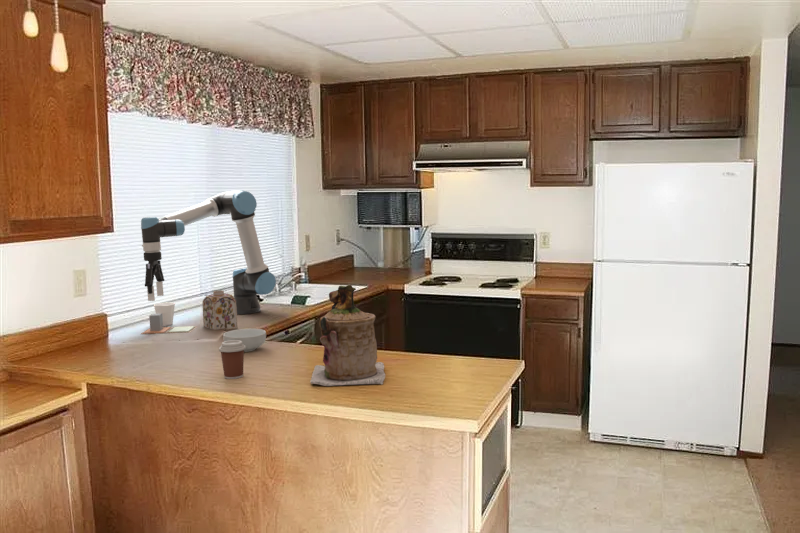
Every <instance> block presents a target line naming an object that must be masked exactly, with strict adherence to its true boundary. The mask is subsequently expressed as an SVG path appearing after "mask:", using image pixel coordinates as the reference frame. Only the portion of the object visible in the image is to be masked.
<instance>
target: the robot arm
mask: <svg viewBox="0 0 800 533" xmlns="http://www.w3.org/2000/svg"><path fill="white" fill-rule="evenodd" d="M257 207H258V205H257V199H256V197H255V196H254V195H253V194H252V193H251V192H249V191H247V190H246V191H245V190H227V191H223V192H221V193H218V194H216V195H214V196H211V197H209V198H207V199H206V200H205V201H203V202H201V203H198V204H195V205H192V206H190V207H187V208H184V209H181V210H179V211H176V212H173V213H170V214H167V215H165V216H162V217H158V216H147V217H142V218H141V219H140V220H141V221H140V229H141V237H142V238H141V239H142V245H141V247H142V248H143V249H142V250H143V251H142V252H143V261H145V262H148V263H146V264H145V279H144V287H146V293H147V301H148V302H155V300H156V299H155V296H157V297H162V296H164V284H163V282H165V278H164V272H163V270H162V265H161V264H162V263H161V261H162V252H161V251H162V246H161V238H169V237H179V236H180V237H181V236H182V235H183V236H184V234H185V231H186V230H185V228H186V226H188V225H191V224H193V223H197V222H199V221H201V220H204V219H207V218H209V217H213V218H214V217H217V216H222V215H229V216H230V217H231V220H232V221H233V222H234V223H235V225H236V228H237V229H236V230H237V233H238V237H239V240H240V244H241V247H242V251H243V255H244V260H245V262H246V263H245V264H246V266H247V268H239V269H234V270H233V271H232V282H233V283H232V285H233V286H232V287H233V297H234V299H235V300H236V309H237V315H247V314H248V315H249V314H255V313H260V312H261V305H260V302H259V300H258V297H257V295H259V296H263V295H269V294H271V293H272V292H273V291H274V289H275V287H276V284H277V281H276V280H277V279H276V276H275V275H274V274H273V273H272V272H271V271H270V269H269V266H268V265H267V264H266V263H265V262H264V258H263V254H262V249H261V246H260V242H259V237H258V234H257V229H256V225H255V222H254V218H255V216H256V213H255V212H256V208H257ZM155 279H156V282H155ZM154 282H155V284H156V295H155V286H154Z"/></svg>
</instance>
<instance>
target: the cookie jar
mask: <svg viewBox="0 0 800 533" xmlns="http://www.w3.org/2000/svg"><path fill="white" fill-rule="evenodd" d="M337 287H338V288H337V290H336V289H335V290H333V291H330V292H329V293H328V298H329V302H331V303H333V304H332V306H331V310H330V311H328V312H327V313H326V314H325V315H323V316H321V317H320V318H319V323H318V324H319V328H320V338H319V341H320V343H321V345H322V346H323V348H324V349H323V358H322V363H323V364H324V365H321V364H317V365H314V369H313V371H312V372H311V373H312V374H311V377H310V378H311V379H310V380H309V382H310V384H311V385H312V384H314V385H320V386H325V387H331V386H350V385H351V386H352V385H383V384H384V381H385V379H386V373H385V371H384V370H385V365H384V364H385V363H384V362H381V361H378V354H377V353H378V347H377V346H378V345H377V339H376V332H375V326H374V325H375V324H374V323H375V320H376V315H375V314H374V313H371V312H370V313H369V312H365V311H362V310H361V309H359V308H358V307H357V306H355V301H354V299H355V298H354V292H355V291H356V290H357V289H356V287H353V285H352V284H347V285H339V286H337Z"/></svg>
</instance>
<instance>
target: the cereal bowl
mask: <svg viewBox="0 0 800 533" xmlns="http://www.w3.org/2000/svg"><path fill="white" fill-rule="evenodd" d="M222 337H223V342H225V341H230V340H240V341H242V344H244V345H245V346H246V349H245V350H244V353H247V352H248V353H249V352H253V351H255V350H256V349H257V348H259V347H261V346H262V345H263V344H264V343H265V342H266V339H267V332H266V330H265V329H261V328H249V327H248V328H237V329H232V330H227V331H226V332H225V331H224V333H223V336H222Z"/></svg>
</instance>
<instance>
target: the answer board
mask: <svg viewBox="0 0 800 533" xmlns="http://www.w3.org/2000/svg"><path fill="white" fill-rule="evenodd" d="M194 326H195V325H194ZM170 327H171V326H170ZM174 327H175V326H172V327H171V328H170V329H168V330H167V331H166V332H164V333H144V332H145V331H147V330H148V329H150V327H149V328H147V329H146V330H144V331H143V332H141V333H140V335H157V334H187V333H192V332H193V331H194V330H195V329H197V328H198V326H195V327H194V328H193V329H192V330H191V331H189V332H170V333H168V332H169V331H170V330H171V329H173V328H174Z"/></svg>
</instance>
